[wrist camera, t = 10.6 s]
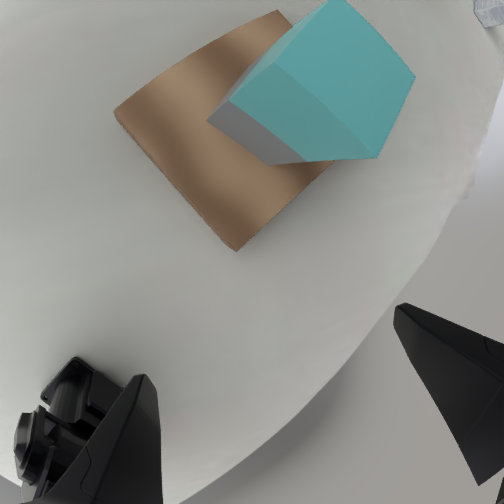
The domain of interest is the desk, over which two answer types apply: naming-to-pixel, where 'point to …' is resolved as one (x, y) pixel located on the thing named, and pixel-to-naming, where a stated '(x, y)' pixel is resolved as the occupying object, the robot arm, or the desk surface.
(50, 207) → the desk surface
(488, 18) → the medicine box
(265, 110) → the teal tall block
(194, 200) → the walnut stand
